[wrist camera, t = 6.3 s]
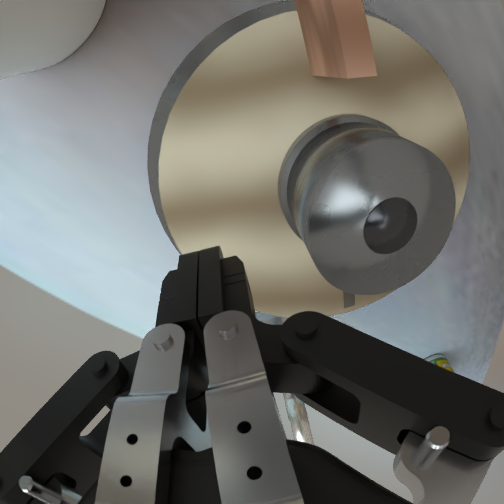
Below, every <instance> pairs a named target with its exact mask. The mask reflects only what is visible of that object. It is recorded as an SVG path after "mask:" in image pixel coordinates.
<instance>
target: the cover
mask: <svg viewBox="0 0 504 504" xmlns="http://www.w3.org/2000/svg"><path fill="white" fill-rule="evenodd" d="M278 197H279V202H280V206H281V209H282V211H283V214H284V216H285V218H286V220H287V222H288V224H289V226H290V227H291V229H292V230H293V232H294V233H295V234H296V235H297V236H298V237H299V238H300V239H301V240H302V241H303V242H304V244H305V246H306V248H307V250H308V252H309V254H310V256H311V258H312V260H313V262H314V264H315V266H316V268H317V269H318V271H319V273H320V274H321V275H322V276H323V277H324V279H325V280H326V281H328V282H329V283H330V284H331V285H333V286H334V287H336V288H338V289H340V290H342V291H344V292H347V293H351V294H357V295H375V294H381V293H385V292H389V291H391V290H394V289H397V288H399V287H401V286H403V285H405V284H407V283H408V282H410V281H411V280H413V279H414V278H416V277H417V276H418V275H420V274H421V273H422V272H423V271H424V270H425V269H426V268H427V267H428V266H429V265H430V264H431V263H432V262H433V261H434V260H435V258H436V257H437V256H438V254H439V253H440V251H441V250H442V248H443V246H444V245H445V243H446V241H447V239H448V236H449V234H450V231H451V229H452V225H453V221H454V216H455V208H456V197H455V189H454V185H453V181H452V178H451V176H450V173H449V172H448V170H447V168H446V166H445V165H444V164H443V162H442V161H441V160H440V159H439V158H438V157H437V156H436V155H435V154H434V153H433V152H431V151H430V150H428V149H427V148H424V147H422V146H420V145H418V144H416V143H414V142H412V141H410V140H408V139H405V138H403V137H401V136H399V134H398V133H397V132H396V131H394V130H393V129H392V128H391V127H389V126H388V125H386V124H384V123H383V122H381V121H378V120H376V119H373V118H370V117H368V116H364V115H359V114H339V115H334V116H330V117H327V118H325V119H322V120H320V121H318V122H316V123H314V124H313V125H311V126H310V127H309V128H307V129H306V130H305V131H304V132H302V133H301V134H300V135H299V136H298V137H297V139H296V140H295V141H294V142H293V143H292V145H291V146H290V148H289V150H288V151H287V153H286V155H285V157H284V159H283V162H282V165H281V168H280V171H279V177H278Z"/></svg>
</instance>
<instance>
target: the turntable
mask: <svg viewBox="0 0 504 504" xmlns="http://www.w3.org/2000/svg"><path fill="white" fill-rule="evenodd" d="M294 2H295V5H296V9H297V10H296V11H291V12H285V13H282V14H278V15H275V16H272V17H269V18H267V19H264V20H261V21H259V22H257V23H255V24H253V25H251V26H249V27H247V28H245V29H243V30H241V31H239V32H238V33H236V34H235V35H233V36H232V37H230V38H229V39H228V40H226V41H225V42H224V43H222V44H221V45H220V46H219V47H217V48H216V49H215V50H214V51H213V52H212V53H211V54H210V55H209V56H208V57H207V58H206V59H205V60H204V61H203V62H202V63H201V64H200V65H199V66H198V67H197V68H196V70H195V71H194V73H193V74H192V75H191V77H190V78H189V80H188V81H187V83H186V84H185V85H184V87H183V88H182V90H181V92H180V94H179V96H178V98H177V100H176V102H175V104H174V106H173V108H172V110H171V112H170V115H169V118H168V121H167V124H166V127H165V130H164V134H163V137H162V143H161V149H160V156H159V191H160V197H161V204H162V209H163V212H164V216H165V219H166V222H167V225H168V228H169V230H170V233H171V235H172V237H173V239H174V241H175V243H176V245H177V247H178V249H179V250H180V252H181V253H182V255H183V254H187V253H191V252H195V251H200V250H203V249H207V248H211V247H215V246H220V248H221V250H222V254H223V257H224V258H227V257H231V256H235V255H236V256H237V257H238V258H239V259H240V260H241V261H242V262H243V264H244V267H245V271H246V275H247V278H248V282H249V285H250V289H251V293H252V298H253V303H254V309H255V310H256V311H259V312H262V313H265V314H270V315H275V316H280V317H290V316H292V315H294V314H296V313H299V312H304V311H315V312H319V313H322V314H324V315H326V316H333V315H337V314H341V313H345V312H349V311H352V310H355V309H358V308H361V307H364V306H366V305H368V304H371V303H373V302H375V301H377V300H379V299H381V298H383V297H384V296H386V295H388V294H389V293H391V292H393V291H394V290H396V289H394V290H391V291H389V292H385V293H381V294H375V295H357V294H351V293H347V292H344V291H342V290H340V289H338V288H336V287H334V286H333V285H331V284H330V283H329V282H328V281H326V280H325V279H324V277H323V276H322V275H321V274H320V273H319V271H318V269H317V268H316V266H315V264H314V262H313V260H312V258H311V256H310V254H309V252H308V250H307V248H306V246H305V244H304V242H303V241H302V240H301V239H300V238H299V237H298V236H297V235H296V234H295V233H294V232H293V230H292V229H291V227H290V226H289V224H288V222H287V220H286V218H285V216H284V214H283V211H282V209H281V206H280V202H279V197H278V177H279V171H280V168H281V165H282V162H283V159H284V157H285V155H286V153H287V151H288V150H289V148H290V146H291V145H292V143H293V142H294V141H295V140H296V139H297V137H298V136H299V135H300V134H301V133H302V132H304V131H305V130H306V129H307V128H309V127H310V126H311V125H313V124H314V123H316V122H318V121H320V120H322V119H325V118H327V117H330V116H334V115H339V114H359V115H364V116H368V117H370V118H373V119H376V120H378V121H381V122H383V123H384V124H386V125H388V126H389V127H391V128H392V129H393V130H394V131H396V132H397V133H398V134H399V136H401V137H403V138H405V139H408V140H410V141H412V142H414V143H416V144H418V145H420V146H422V147H424V148H427V149H428V150H430V151H431V152H433V153H434V154H435V155H436V156H437V157H438V158H439V159H440V160H441V161H442V162H443V164H444V165H445V166H446V168H447V170H448V172H449V173H450V176H451V178H452V181H453V185H454V189H455V197H456V208H455V216H454V221H453V224H454V222H455V220H456V217H457V215H458V213H459V210H460V207H461V204H462V201H463V198H464V195H465V191H466V186H467V181H468V175H469V164H470V144H469V135H468V128H467V122H466V119H465V115H464V112H463V108H462V105H461V102H460V100H459V98H458V95H457V93H456V91H455V89H454V87H453V85H452V83H451V81H450V80H449V78H448V76H447V75H446V73H445V72H444V70H443V69H442V68H441V66H440V65H439V64H438V63H437V61H436V60H435V59H434V58H433V56H432V55H431V54H430V53H429V52H428V51H427V50H426V49H425V48H423V47H422V46H421V45H420V44H419V43H418V42H417V41H416V40H414V39H413V38H412V37H410V36H409V35H407V34H406V33H404V32H403V31H401V30H400V29H398V28H396V27H394V26H392V25H390V24H388V23H386V22H384V21H382V20H380V19H378V18H375V17H372V16H369V15H365V10H364V6H363V2H362V0H295V1H294ZM452 226H453V225H452Z"/></svg>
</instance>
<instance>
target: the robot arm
mask: <svg viewBox="0 0 504 504" xmlns="http://www.w3.org/2000/svg"><path fill="white" fill-rule="evenodd" d="M273 392H279V393H294V395H295V396H296V397H297V398H298V399H299V400H301V401H303V402H304V403H306V404H307V405H309V406H311V407H312V408H314V409H315V410H317V411H319V412H320V413H322V414H324V415H325V416H327V417H329V418H330V419H332V420H334V421H335V422H337V423H339V424H340V425H343V426H344V427H346V428H347V429H349V430H351V431H353V432H354V433H356V434H358V435H360V436H362V437H363V438H365V439H367V440H369V441H371V442H372V443H374V444H376V445H378V446H380V447H382V448H383V449H385V450H387V451H389V452H391V453H393V454H395V455H396V456H395V459H394V463H393V469H394V473H395V476H396V477H397V479H398V480H399V481H400V482H401V483H403V484H404V485H406V486H407V487H408V489H409V490H410V491H411V493H412V495H413V500H414V504H471V502H472V500H473V498H474V496H475V495H476V493H477V491H478V489H479V487H480V485H481V483H482V481H483V479H484V477H485V475H486V473H487V471H488V469H489V467H490V465H491V462H492V460H493V459H494V458H495V457H496V456H497V455H498V454H499V453H500V452H501V451H502V450H504V393H502V392H500V391H497V390H495V389H492V388H490V387H487V386H485V385H483V384H480V383H478V382H475V381H473V380H471V379H468V378H466V377H464V376H461V375H459V374H456V373H454V372H452V371H449V370H447V369H445V368H442V367H440V366H438V365H435V364H433V363H431V362H429V361H426V360H424V359H422V358H419V357H417V356H415V355H412V354H410V353H408V352H406V351H403V350H401V349H399V348H397V347H394V346H392V345H390V344H388V343H385V342H383V341H381V340H379V339H376V338H374V337H372V336H370V335H368V334H365V333H363V332H361V331H359V330H357V329H354V328H352V327H350V326H348V325H346V324H343V323H341V322H339V321H337V320H335V319H332V318H330V317H328V316H326V315H324V314H322V313H319V312H315V311H304V312H299V313H296V314H294V315H292V316H290V317H289V318H288V319H286V321H285V322H284V323H283V325H273V324H266V323H263V322H261V321H259V320H258V319H256V314H255V309H254V303H253V298H252V293H251V289H250V285H249V282H248V278H247V275H246V271H245V267H244V264H243V262H242V261H241V260H240V259H239V258H238V257H237V256H236V255H235V256H231V257H227V258H224V257H223V254H222V250H221V248H220V246H215V247H211V248H207V249H203V250H200V251H195V252H191V253H187V254H183V255H180V256H179V262H178V269H177V270H173V271H169V273H168V274H167V276H166V277H165V278H164V280H163V282H162V288H161V294H160V301H159V306H158V313H157V319H156V326H155V328H154V329H152V330H151V331H149V332H148V333H147V334H146V336H145V337H144V339H143V341H142V345H141V348H140V350H139V351H137V352H135V353H133V354H131V355H129V356H126V357H124V358H122V359H119V357H118V356H117V355H116V354H115V353H113V352H111V351H102V352H99V353H96V354H94V355H93V356H92V357H90V358H89V359H88V360H87V361H86V362H85V363H84V364H83V365H82V366H81V367H80V368H79V369H78V370H77V372H75V373H74V374H73V375H72V376H71V378H70V379H69V380H68V381H67V382H66V383H65V384H64V385H63V386H62V387H61V388H60V389H59V390H58V391H57V392H56V393H55V394H54V395H53V397H51V398H50V399H49V401H48V402H47V403H46V404H45V405H44V406H43V407H42V408H41V409H40V410H39V411H38V412H37V413H36V414H35V415H34V417H33V418H32V419H31V420H30V421H29V422H28V423H27V424H26V425H25V426H24V427H23V428H22V430H21V431H20V432H19V433H18V434H17V435H16V436H15V437H14V438H13V439H12V440H11V442H10V443H9V444H8V445H7V446H6V447H5V448H4V449H3V451H2V452H1V453H0V504H413V503H411V502H409V501H407V500H405V499H404V498H402V497H400V496H398V495H397V494H395V493H393V492H391V491H390V490H388V489H386V488H384V487H383V486H381V485H379V484H378V483H376V482H374V481H373V480H371V479H369V478H368V477H366V476H365V475H363V474H361V473H360V472H358V471H357V470H355V469H353V468H352V467H350V466H349V465H347V464H346V463H344V462H342V461H341V460H339V459H338V458H337V457H335V456H334V455H332V454H331V453H329V452H327V451H326V450H324V449H322V448H320V447H318V446H315V445H312V444H310V443H306V442H302V441H296V440H288V439H287V438H286V434H285V431H284V428H283V425H282V421H281V418H280V415H279V411H278V408H277V404H276V402H275V398H274V394H273ZM105 405H106V406H107V407H108V408H109V409H110V411H109V412H108V414H107V415H106V416H105V417H104V418H103V419H102V420H101V421H100V423H99V424H98V425H97V426H96V427H95V428H94V429H93V430H92V431H91V433H89V434H88V435H86V436H80V433H81V431H82V430H83V429H84V428H85V427H86V426H87V425H88V424H89V423H90V421H91V420H92V419H93V418H94V417H95V416H96V415H97V414H98V413H99V412H100V410H101V409H102V408H103V407H104V406H105Z"/></svg>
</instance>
